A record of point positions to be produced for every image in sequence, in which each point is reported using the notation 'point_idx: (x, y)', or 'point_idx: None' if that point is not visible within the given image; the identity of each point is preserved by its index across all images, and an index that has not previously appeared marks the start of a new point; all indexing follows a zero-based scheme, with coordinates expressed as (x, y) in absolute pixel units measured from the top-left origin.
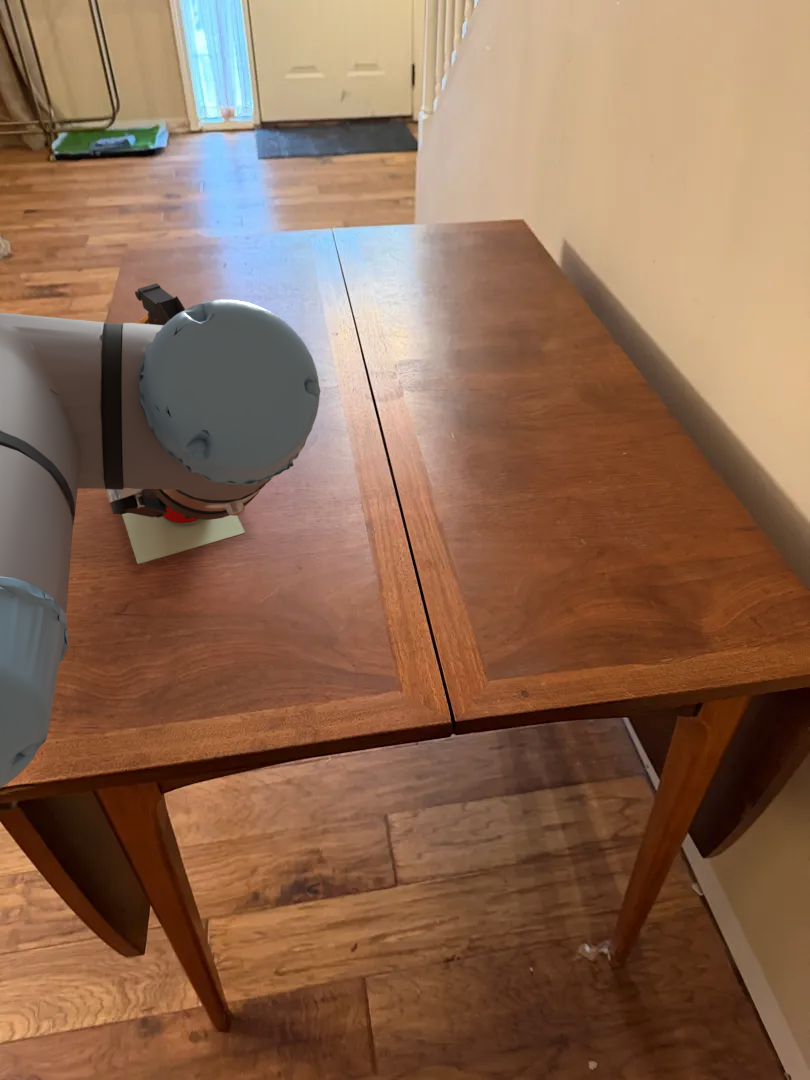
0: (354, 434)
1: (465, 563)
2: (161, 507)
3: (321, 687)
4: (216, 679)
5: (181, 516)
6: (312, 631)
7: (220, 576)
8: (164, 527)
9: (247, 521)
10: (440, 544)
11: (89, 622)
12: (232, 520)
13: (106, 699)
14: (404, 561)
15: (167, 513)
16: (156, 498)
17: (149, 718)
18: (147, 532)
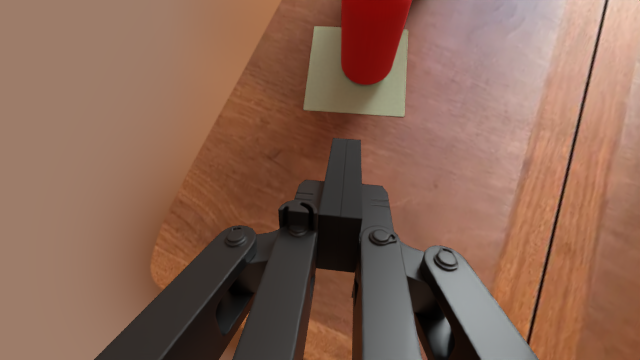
0: (565, 32)
1: (608, 270)
2: (229, 334)
3: None
4: (315, 274)
5: (355, 78)
6: None
7: (362, 158)
8: (339, 77)
9: (411, 103)
10: (592, 229)
11: (246, 155)
12: (398, 96)
13: None
14: (542, 232)
15: (345, 69)
16: (206, 350)
17: None
18: (323, 76)
